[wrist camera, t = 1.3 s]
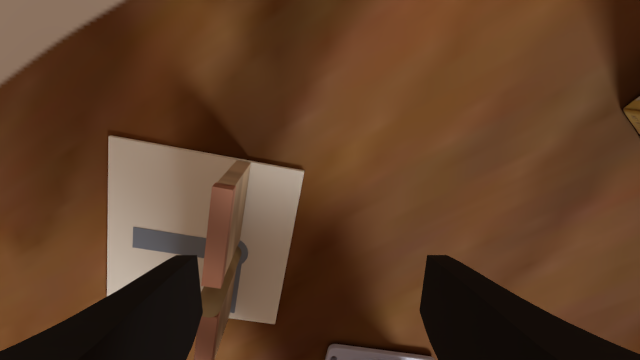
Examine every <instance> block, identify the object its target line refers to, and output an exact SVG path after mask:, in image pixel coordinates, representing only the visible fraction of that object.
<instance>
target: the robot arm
mask: <svg viewBox="0 0 640 360" xmlns="http://www.w3.org/2000/svg"><path fill="white" fill-rule="evenodd" d="M202 314H203V308H202V298H201V288H200V278H199V269H198V259H197V255H176V256H174V257H172V258H170V259H168V260H166V261H165V262H163V263H161V264H160V265H158V266H156V267H155V268H153V269H151V270H150V271H148V272H147V273H145V274H143V275H142V276H140V277H139V278H137V279H135V280H134V281H132V282H130V283H129V284H127V285H126V286H124V287H122V288H121V289H119V290H118V291H116V292H114V293H112V294H111V295H109V296H107V297H105V298H104V299H102V300H100V301H98V302H97V303H95V304H93V305H91V306H90V307H88V308H86V309H84V310H83V311H81V312H79V313H77V314H76V315H74V316H72V317H70V318H68V319H66V320H64V321H63V322H61V323H59V324H57V325H55V326H53V327H51V328H49V329H47V330H45V331H43V332H41V333H39V334H37V335H35V336H32V337H30V338H28V339H26V340H24V341H22V342H20V343H18V344H16V345H14V346H11V347H9V348H7V349H5V350H2V351H0V360H186V359H187V357H188V354H189V352H190V350H191V348H192V345H193V342H194V339H195V336H196V333H197V330H198V327H199V324H200V320H201V317H202ZM420 314H421V317H422V320H423V323H424V326H425V329H426V332H427V335H428V338H429V340H430V343H431V345H432V347H433V349H434V352H435V354H436V356H437V358H438V360H640V354H638V353H635V352H633V351H630V350H628V349H625V348H623V347H621V346H618V345H616V344H614V343H611V342H609V341H607V340H604V339H602V338H600V337H598V336H596V335H594V334H591V333H589V332H587V331H585V330H583V329H581V328H579V327H576V326H574V325H572V324H570V323H568V322H566V321H564V320H562V319H560V318H558V317H556V316H554V315H552V314H550V313H548V312H546V311H544V310H543V309H541V308H539V307H537V306H535V305H533V304H531V303H530V302H528V301H526V300H524V299H522V298H521V297H519V296H517V295H515V294H513V293H512V292H510V291H508V290H507V289H505V288H503V287H501V286H500V285H498V284H496V283H495V282H493V281H491V280H490V279H488V278H486V277H485V276H483V275H481V274H480V273H478V272H476V271H475V270H473V269H471V268H469V267H468V266H466V265H464V264H463V263H461V262H459V261H457V260H455V259H453V258H451V257H449V256H447V255H427V261H426V268H425V275H424V282H423V290H422V297H421V304H420ZM332 356H336V357H332ZM325 360H435V359H434V358H433V357H431V356H424V355H417V354H409V353H402V352H394V351H386V350H379V349H371V348H363V347H356V346H348V345H341V344H332V345H330V346H329V347H328V350H327V354H326V358H325Z"/></svg>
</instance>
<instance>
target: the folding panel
mask: <svg viewBox="0 0 640 360" xmlns="http://www.w3.org/2000/svg"><path fill="white" fill-rule="evenodd" d="M250 166H251V163H250V162H244V161H238V160H237V161H236V162H235V163H234V164H233V165H232V166H231V167H230V168H229V170H228V171H227V172H226V173H225V174H224V175H223V176H222V177H221V178H220V180H219V181H218V182H216V183H215V184H214V185H213V186H212V191H211V200H210V209H209V218H208V228H207V237H206V246H205V256H204V265H203V274H202V283H201V286H205V287H212V288H219V289H221V287H222V284H223V282H224V277H225V274H226V272H227V270H228V267H229V265H230V263H231V260H232V258H233V256H234V253H235V251H236V248H237V246H238V244H239V241H240V237H241V230H242V222H243V215H244V208H245V201H246V194H247V187H248V180H249V173H250Z"/></svg>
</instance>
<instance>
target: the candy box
mask: <svg viewBox="0 0 640 360" xmlns="http://www.w3.org/2000/svg"><path fill="white" fill-rule="evenodd" d="M623 111H624V113H625V114H626V116H627V117H628V119H629V120H630V122H631V123H632V124H633V126H634V127H635V128H636V130H637V131H638V133H639V134H640V96H639V97H638V98H637V99H635V100H634V101H633V102H631V103H630V104H628V105H627V106H626V107H624V109H623Z"/></svg>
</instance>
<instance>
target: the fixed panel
mask: <svg viewBox="0 0 640 360" xmlns="http://www.w3.org/2000/svg"><path fill="white" fill-rule="evenodd" d="M241 254H242V252H241V249H240V248H239V247H238V246H237V248H236V251H235V253H234V256H233V258H232V260H231V263H230V265H229V267H228V270H227V272H226V274H225V277H224V282H223V284H222V287H221V289H219V288H212V287H205V286H204V287H203V289H202V291H201V298H202V308H203V314H202V317H201V320H200V324H199V327H198V330H197V337H196V346H195V355H194V360H215V357H216V354H217V351H218V348H219V345H220V342H221V339H222V336H223V333H224V330H225V327H226V324H227V321H228V318H229V315H230V309H231V302H232V295H233V288H234V281H235V274H236V268H237V265H238V262H239V260H240V257H241Z"/></svg>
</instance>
